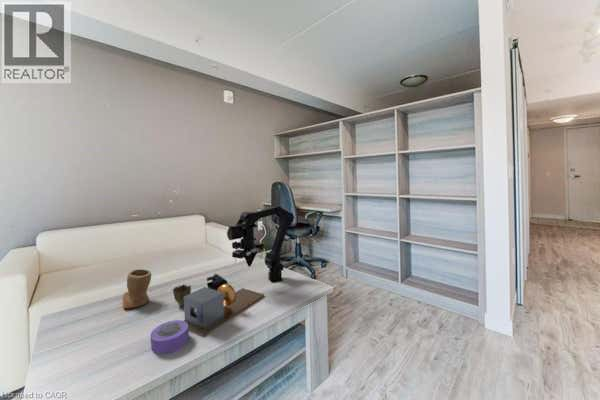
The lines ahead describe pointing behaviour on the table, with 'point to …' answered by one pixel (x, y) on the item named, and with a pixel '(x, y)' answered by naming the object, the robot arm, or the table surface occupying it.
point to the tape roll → (169, 337)
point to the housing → (214, 308)
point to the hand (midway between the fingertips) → (249, 266)
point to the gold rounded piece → (225, 295)
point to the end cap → (216, 282)
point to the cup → (181, 293)
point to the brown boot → (136, 288)
